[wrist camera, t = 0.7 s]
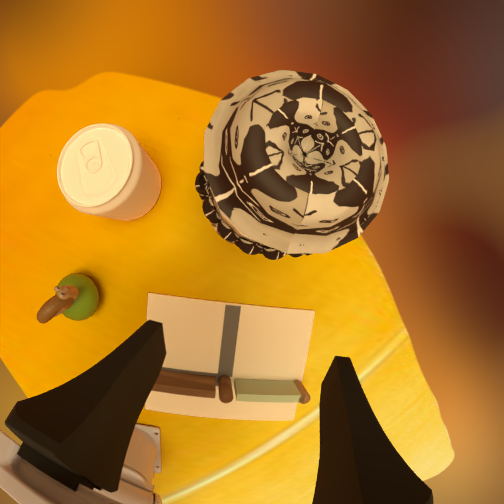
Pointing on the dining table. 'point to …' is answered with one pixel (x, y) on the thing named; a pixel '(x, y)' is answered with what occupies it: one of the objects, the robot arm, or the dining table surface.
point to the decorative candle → (291, 166)
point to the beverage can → (108, 173)
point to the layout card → (229, 352)
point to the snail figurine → (71, 299)
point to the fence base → (194, 385)
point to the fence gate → (270, 391)
